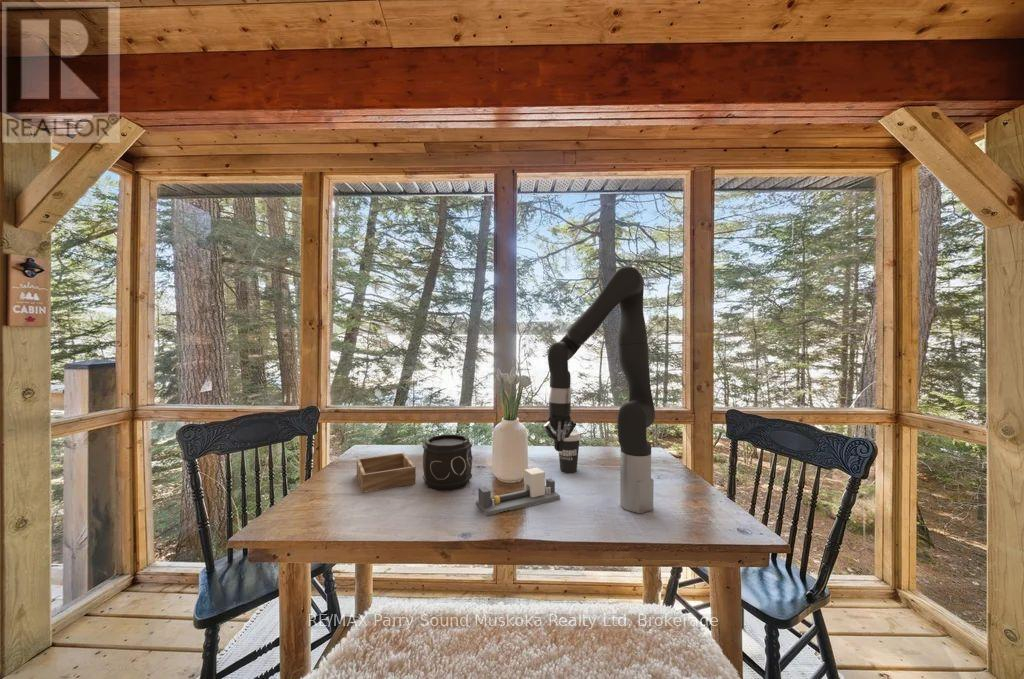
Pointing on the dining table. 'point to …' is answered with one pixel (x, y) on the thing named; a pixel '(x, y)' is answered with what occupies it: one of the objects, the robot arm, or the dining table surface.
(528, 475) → the sleeve
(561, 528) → the dining table surface
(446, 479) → the black canister
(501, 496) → the gray slide rail base
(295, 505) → the dining table surface
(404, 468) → the box
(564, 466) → the coffee cup
